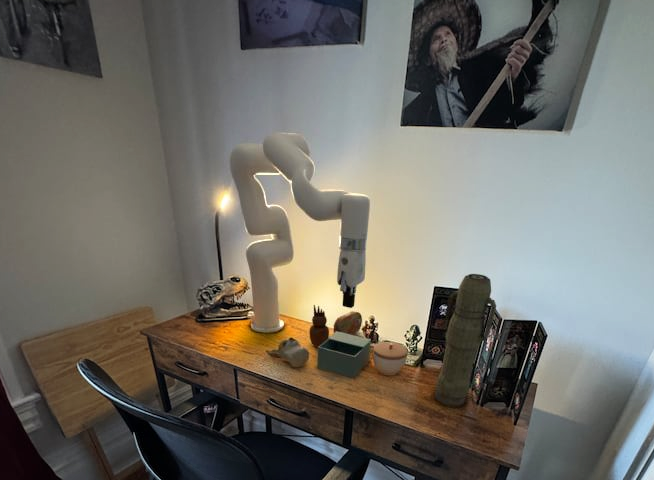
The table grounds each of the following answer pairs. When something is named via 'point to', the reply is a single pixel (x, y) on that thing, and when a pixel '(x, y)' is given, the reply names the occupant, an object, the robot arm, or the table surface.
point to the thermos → (463, 337)
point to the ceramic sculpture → (290, 352)
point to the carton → (343, 357)
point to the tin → (348, 323)
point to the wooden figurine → (318, 328)
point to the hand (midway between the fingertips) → (348, 306)
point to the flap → (349, 339)
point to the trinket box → (389, 357)
